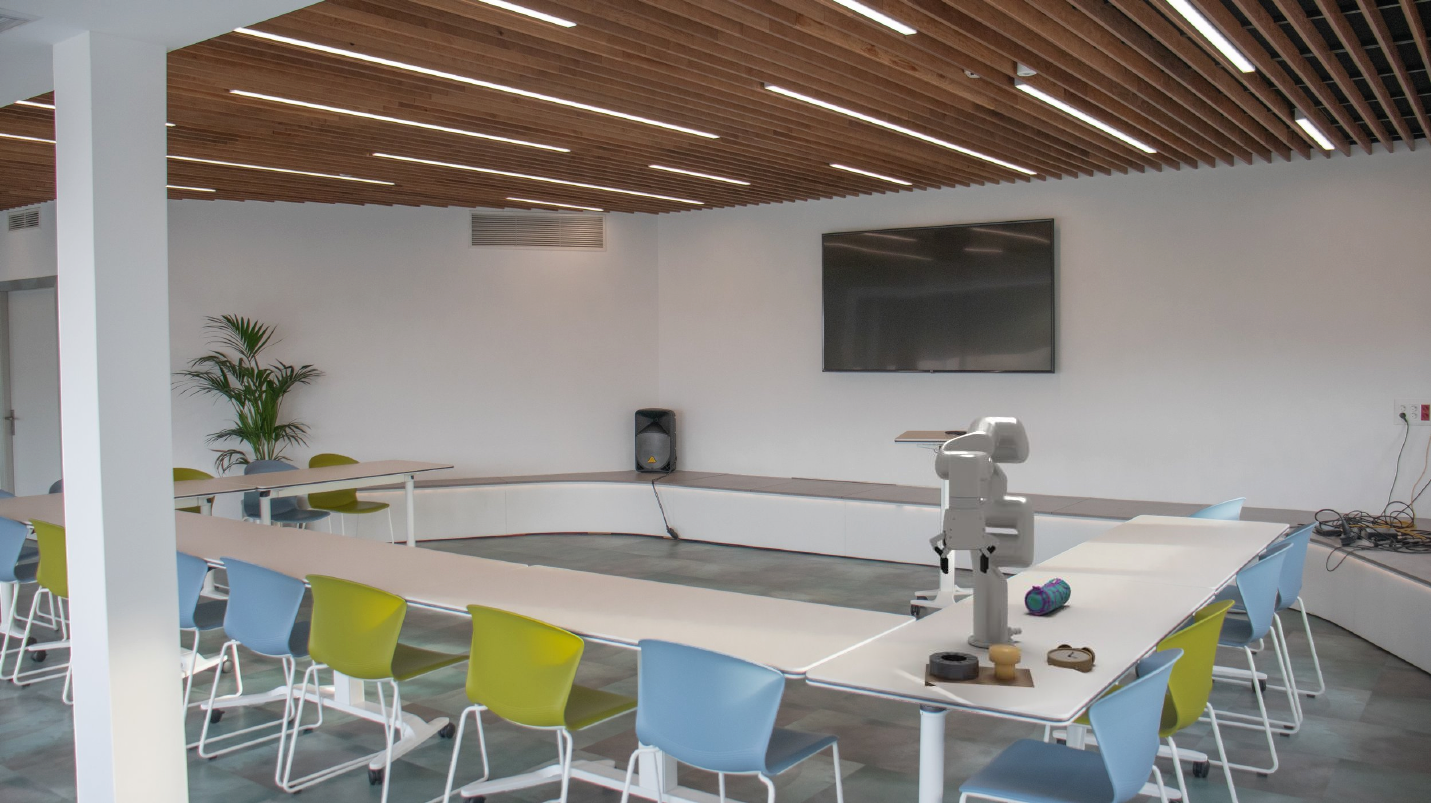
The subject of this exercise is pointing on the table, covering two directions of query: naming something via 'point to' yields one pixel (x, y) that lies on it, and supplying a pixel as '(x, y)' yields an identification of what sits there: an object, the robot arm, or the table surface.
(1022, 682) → the mount
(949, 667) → the grey faceted ring
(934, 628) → the table surface
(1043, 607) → the pencil case
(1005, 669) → the cap
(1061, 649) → the alarm clock
